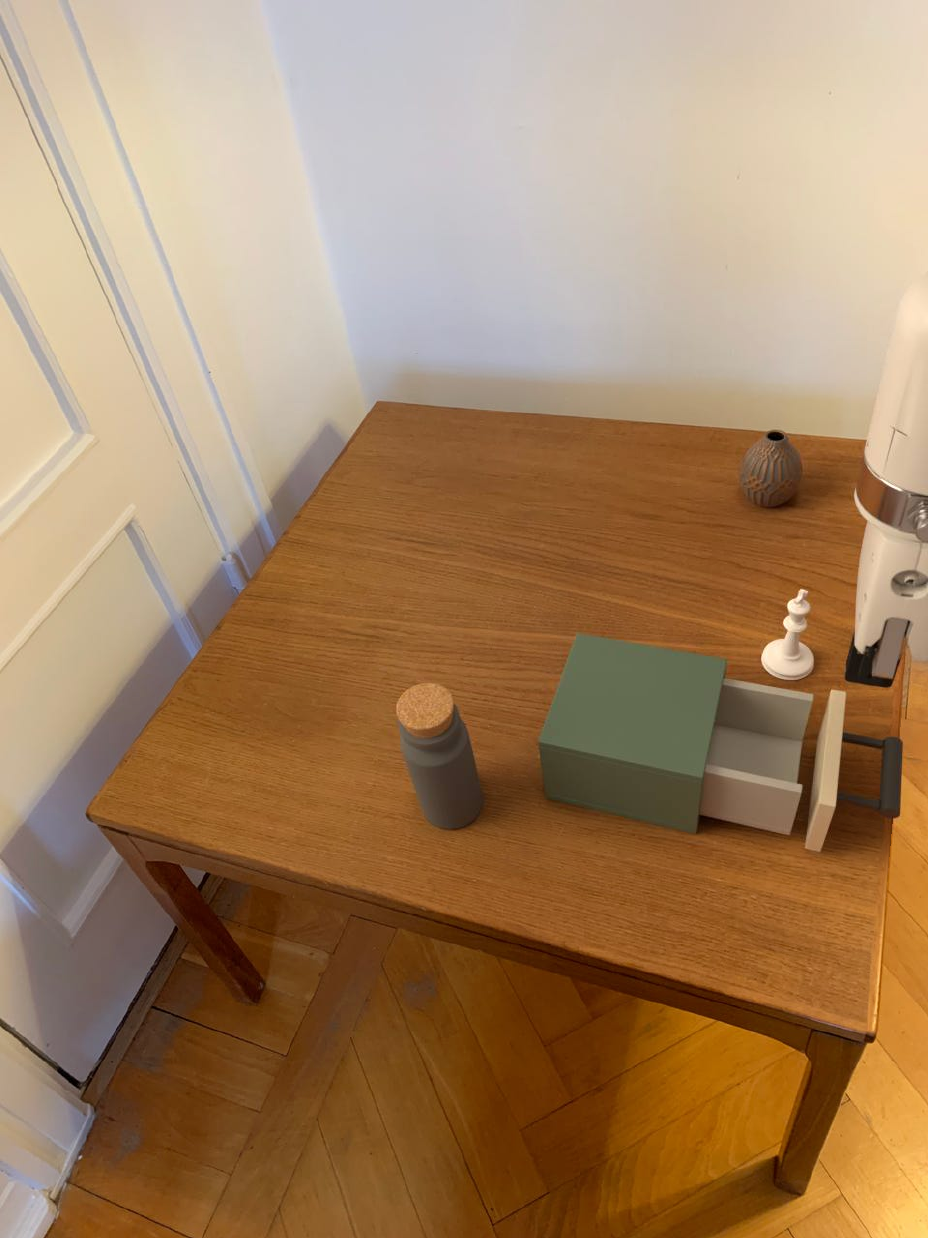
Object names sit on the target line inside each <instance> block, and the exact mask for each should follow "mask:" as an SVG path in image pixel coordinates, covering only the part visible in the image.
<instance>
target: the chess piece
mask: <svg viewBox="0 0 928 1238" xmlns="http://www.w3.org/2000/svg"><path fill="white" fill-rule="evenodd" d="M808 595H809V591H808V590H806V589H803V588H800V589H799V590H798V592H797V596H796V597H795V598H792V599H790V600H789V601H788V602H787V605H786V607H787V612H788V615H786V617H785V618H784V619H783V622H782V625H783V627H784V629H786V630H787V632H786V634H785V636H784V638H778V639H775V640H773V641H771V642H769V643H768V644H767V645H766V646H765V647H764V648H763V651H762V653H761V656H760V657H761V659H760V660H761V664H762V667H763V668H764V670H766V671H767V673H769V674H770V675H771V676H773V677H774V678H777V679H780V680H784V681H797V680H802V679H804V678H806V677H807V676H808V675H810V674H811V673H812V671H813V669H814V665H815V657H814V654H813V652H812V650H811V649H810V648H809V647H808V646H807V645H806V644H804V643H802V642H801V641H800V633H801V632H803V631H805V630H806V629H807V627H808V622H807V620H806V618H805V617H806V616H807V615H808V614H809V612H810V611H811V605H810V603H809V602H808V601H807V600H805V599H806V597H807V596H808Z"/></svg>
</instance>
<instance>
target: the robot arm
mask: <svg viewBox="0 0 928 1238" xmlns="http://www.w3.org/2000/svg"><path fill="white" fill-rule="evenodd" d="M897 306H898V307H897V310H896V312H895V317H894V321H893V324H892V329H891V332H890V333H891V334H890V338H889V342H888V347H887V351H886V355H885V359H884V363H883V368H882V373H881V377H880V381H879V386H878V390H877V393H876V397H875V398H876V400H875V402H874V407H873V411H872V415H871V419H870V424H869V428H868V433H867V437H866V443H865V446H864V448H863V449H864V450H863V454H862V458H861V463H860V465H859V466H860V467H859V472H858V475H857V479H856V485H855V488H854V491H853V492H854V493H853V499H854V503H855V506H856V508H857V510H858V512H859V513H860V515H861V516H862V517H863V518H864V519H865V520H866V521H867V522H866V525H865V530H864V535H863V540H862V544H861V550H860V556H859V562H858V563H859V564H858V571H857V582H856V593H855V594H856V595H855V599H856V600H855V613H854V614H855V615H854V616H855V617H854V631H853V634H852V639H851V642H850V645H849V649H848V652H847V656H846V660H845V672H844V680H845V681H846V682H848V683H853V684H860V685H864V686H870V687H879V688H885V689H888V688H891V687H892V686H893V683H894V680H895V677H896V675H897V671H898V668H899V666H900V662H901V660H902V657H903V654H904V651H905V649H906V645H907V644H908V649H909V652H910V654H911V655H910V656H911V657H912V661H913V663H919V664H925V665H926V664H928V271H927V272H924V273H923V274H922V275H920V276H919V277H918V278H917V279H915V280H914V281H913V282H912V283H911V284H910V285H909V286H908V288H907V289H906V291H905V292H904V293H903V295H902V297H901V299H900V301H899V302H898V305H897Z"/></svg>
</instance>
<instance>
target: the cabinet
mask: <svg viewBox="0 0 928 1238" xmlns="http://www.w3.org/2000/svg"><path fill="white" fill-rule="evenodd" d="M727 667H728V658H725V657H717V656H712V655H707V654H701V653H695V652H689V651H684V650H677V649H672V648H666V647H661V646H655V645H649V644H643V643H637V642H633V641H632V642H631V641H626V640H620V639H615V638H609V637H603V636H597V635H592V634H586V633H579V632H577V633H576V635H575V637H574V639H573V643H572V646H571V648H570V651H569V654H568V657H567V660H566V662H565V665H564V668H563V671H562V673H561V676H560V680H559V682H558V685H557V686H556V687H557V688H556V690H555V693H554V695H553V698H552V702H551V704H550V707H549V710H548V713H547V716H546V718H545V721H544V724H543V727H542V730H541V732H540V735H539V737H538V740H537V743H538V751H539V757H540V759H539V760H540V767H541V776H542V781H543V789H544V798H545V799H547V800H550V801H551V800H552V801H556V802H561V803H564V804H569V805H573V806H577V807H581V808H584V809H589V810H593V811H597V812H601V813H606V814H610V815H614V816H618V817H621V818H626V819H631V820H634V821H639V822H642V823H647V824H651V825H654V826H655V825H656V826H660V827H662V828H663V827H664V828H668V829H672V830H676V831H679V832H685V833H689V834H691V835H697V833H698V828H699V823H700V822H699V821H700V818H701V815H700V814H699V812H700V804H701V795H702V787H703V778H704V772H705V767H706V763H707V758H708V753H709V748H710V743H711V738H712V734H713V729H714V724H715V719H716V714H717V709H718V705H719V700H720V695H721V690H722V685H723V680H724V678H726V674H727Z"/></svg>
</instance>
